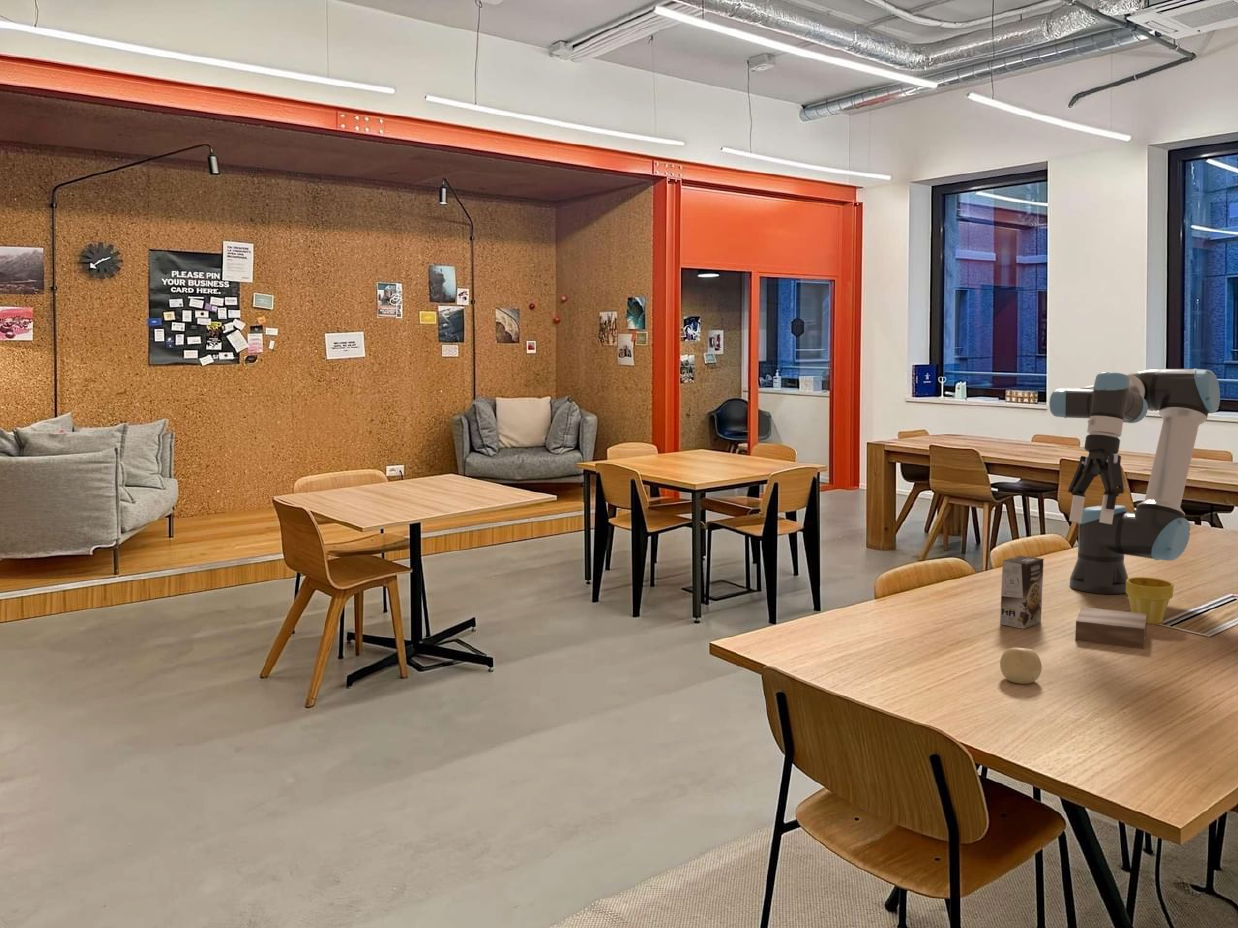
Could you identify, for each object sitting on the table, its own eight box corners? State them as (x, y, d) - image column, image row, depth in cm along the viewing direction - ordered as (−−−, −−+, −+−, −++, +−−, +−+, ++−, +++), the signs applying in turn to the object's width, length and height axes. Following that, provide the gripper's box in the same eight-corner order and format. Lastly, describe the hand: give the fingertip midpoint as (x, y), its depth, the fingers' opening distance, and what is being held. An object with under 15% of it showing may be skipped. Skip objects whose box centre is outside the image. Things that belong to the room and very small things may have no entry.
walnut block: (1080, 626, 241) (1081, 606, 241) (1145, 634, 235) (1146, 613, 234) (1075, 641, 229) (1076, 620, 229) (1143, 650, 222) (1144, 628, 222)
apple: (1007, 686, 198) (994, 649, 201) (1007, 690, 205) (994, 654, 208) (1048, 676, 196) (1034, 639, 199) (1045, 681, 203) (1032, 644, 206)
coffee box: (1024, 629, 238) (1026, 564, 236) (999, 624, 243) (1001, 559, 241) (1042, 622, 244) (1044, 558, 242) (1017, 617, 249) (1019, 554, 247)
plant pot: (1177, 627, 239) (1180, 587, 237) (1131, 625, 241) (1133, 585, 240) (1163, 615, 249) (1165, 577, 248) (1118, 613, 251) (1120, 576, 250)
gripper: (1062, 436, 252) (1049, 518, 251) (1118, 429, 227) (1103, 520, 226) (1090, 441, 253) (1077, 523, 252) (1149, 435, 228) (1135, 526, 227)
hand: (1089, 522), depth 239 cm, fingers open, 13 cm apart
